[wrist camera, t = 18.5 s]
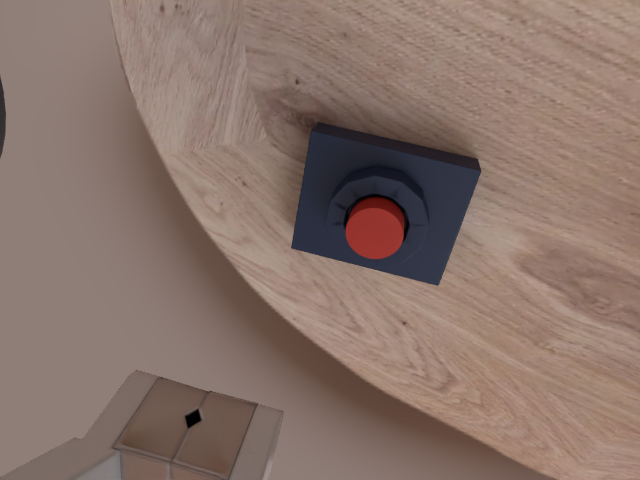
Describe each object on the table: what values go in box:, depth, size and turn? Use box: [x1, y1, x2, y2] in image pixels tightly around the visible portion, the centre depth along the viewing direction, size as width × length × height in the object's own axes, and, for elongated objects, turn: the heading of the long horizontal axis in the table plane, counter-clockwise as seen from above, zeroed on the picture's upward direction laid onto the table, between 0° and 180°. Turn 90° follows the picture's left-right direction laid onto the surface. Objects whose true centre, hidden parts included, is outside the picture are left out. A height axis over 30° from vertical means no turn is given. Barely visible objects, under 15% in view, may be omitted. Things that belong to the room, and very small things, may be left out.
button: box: [346, 197, 405, 259], centre depth 30 cm, size 4×4×2 cm
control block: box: [291, 122, 481, 286], centre depth 32 cm, size 11×9×4 cm
